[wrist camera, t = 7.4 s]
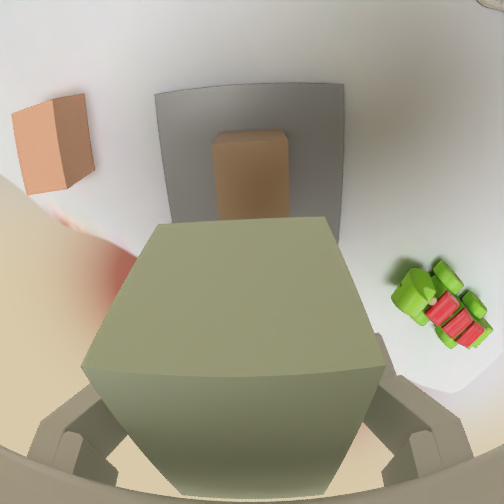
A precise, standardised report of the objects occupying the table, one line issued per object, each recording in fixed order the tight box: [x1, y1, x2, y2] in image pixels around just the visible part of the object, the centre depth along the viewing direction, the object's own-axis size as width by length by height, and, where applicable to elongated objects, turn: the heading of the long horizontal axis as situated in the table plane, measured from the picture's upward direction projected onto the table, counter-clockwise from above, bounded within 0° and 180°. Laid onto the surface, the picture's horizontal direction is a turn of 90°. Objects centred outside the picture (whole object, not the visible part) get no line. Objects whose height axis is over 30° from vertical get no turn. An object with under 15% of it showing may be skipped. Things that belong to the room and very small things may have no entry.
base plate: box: [154, 83, 344, 245], centre depth 22 cm, size 14×14×6 cm
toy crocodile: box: [391, 260, 493, 349], centre depth 29 cm, size 20×7×6 cm, turn 56°
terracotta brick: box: [12, 94, 95, 195], centre depth 21 cm, size 4×7×5 cm, turn 2°
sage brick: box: [81, 216, 386, 499], centre depth 8 cm, size 4×7×5 cm, turn 3°
